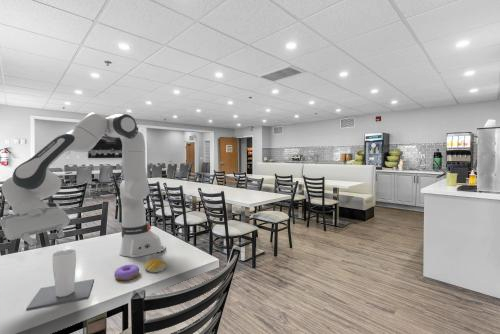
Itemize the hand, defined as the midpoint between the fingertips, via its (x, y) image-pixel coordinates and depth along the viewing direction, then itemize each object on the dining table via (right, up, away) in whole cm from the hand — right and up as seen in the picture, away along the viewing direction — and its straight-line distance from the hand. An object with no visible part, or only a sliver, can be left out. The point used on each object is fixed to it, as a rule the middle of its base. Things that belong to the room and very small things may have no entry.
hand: (48, 240), depth 94 cm
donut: (+24, -19, +11) cm, 32 cm away
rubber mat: (+8, -19, -3) cm, 20 cm away
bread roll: (+33, -19, +19) cm, 42 cm away
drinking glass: (+9, -18, -4) cm, 21 cm away
